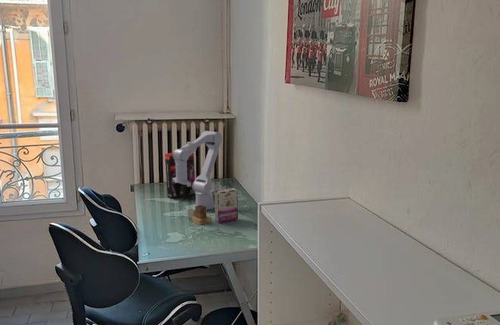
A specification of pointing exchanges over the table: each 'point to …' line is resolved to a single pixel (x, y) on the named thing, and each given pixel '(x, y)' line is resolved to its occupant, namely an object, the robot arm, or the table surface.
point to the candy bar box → (226, 205)
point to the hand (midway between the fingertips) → (182, 197)
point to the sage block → (191, 212)
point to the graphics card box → (172, 174)
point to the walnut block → (200, 211)
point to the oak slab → (201, 220)
